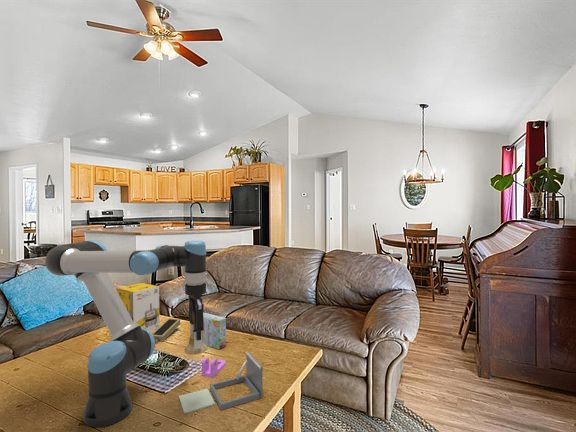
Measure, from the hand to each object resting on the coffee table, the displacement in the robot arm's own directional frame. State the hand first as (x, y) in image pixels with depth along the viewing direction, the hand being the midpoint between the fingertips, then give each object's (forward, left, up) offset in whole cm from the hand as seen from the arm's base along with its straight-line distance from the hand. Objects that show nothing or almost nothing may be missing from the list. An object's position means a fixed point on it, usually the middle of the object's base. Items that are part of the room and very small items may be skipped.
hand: (196, 344), depth 122 cm
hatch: (+14, -2, -22) cm, 26 cm away
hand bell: (0, 0, -2) cm, 2 cm away
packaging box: (-14, +86, -22) cm, 90 cm away
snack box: (+17, +48, -22) cm, 56 cm away
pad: (0, 0, -22) cm, 22 cm away
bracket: (+13, +20, -22) cm, 32 cm away
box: (-2, +70, -22) cm, 73 cm away
